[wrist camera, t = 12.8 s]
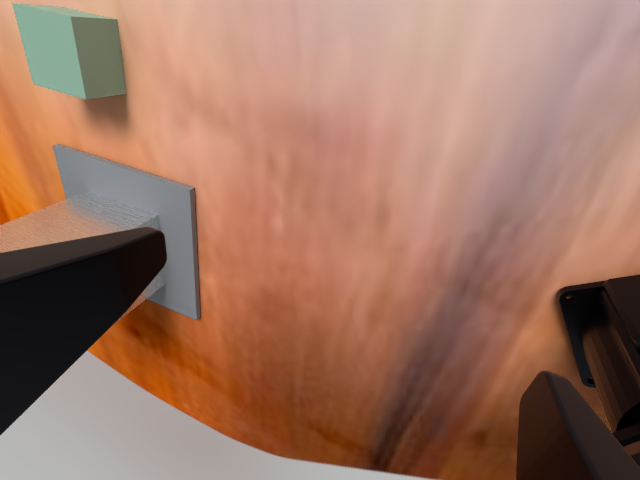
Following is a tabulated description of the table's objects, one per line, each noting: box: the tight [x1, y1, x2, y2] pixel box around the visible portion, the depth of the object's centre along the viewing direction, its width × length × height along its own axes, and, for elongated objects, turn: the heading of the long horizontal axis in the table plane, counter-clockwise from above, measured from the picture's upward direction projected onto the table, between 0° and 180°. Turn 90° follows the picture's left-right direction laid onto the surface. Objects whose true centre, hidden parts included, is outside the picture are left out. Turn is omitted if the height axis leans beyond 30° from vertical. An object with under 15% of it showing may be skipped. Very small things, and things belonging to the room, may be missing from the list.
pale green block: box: [12, 3, 127, 100], centre depth 20 cm, size 4×4×3 cm
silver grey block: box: [0, 191, 166, 326], centre depth 24 cm, size 6×6×10 cm
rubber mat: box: [53, 144, 201, 320], centre depth 28 cm, size 12×12×1 cm
